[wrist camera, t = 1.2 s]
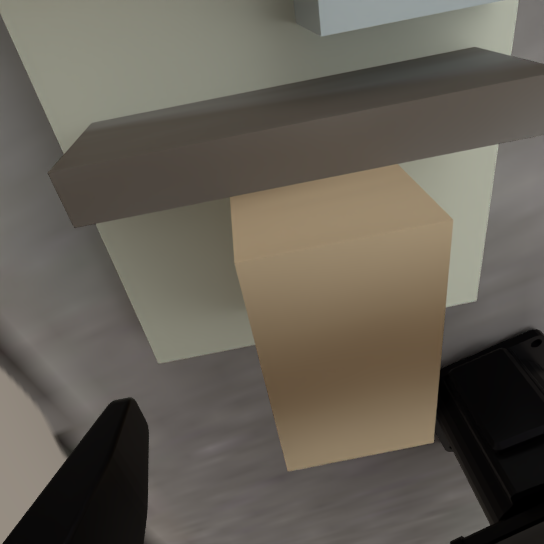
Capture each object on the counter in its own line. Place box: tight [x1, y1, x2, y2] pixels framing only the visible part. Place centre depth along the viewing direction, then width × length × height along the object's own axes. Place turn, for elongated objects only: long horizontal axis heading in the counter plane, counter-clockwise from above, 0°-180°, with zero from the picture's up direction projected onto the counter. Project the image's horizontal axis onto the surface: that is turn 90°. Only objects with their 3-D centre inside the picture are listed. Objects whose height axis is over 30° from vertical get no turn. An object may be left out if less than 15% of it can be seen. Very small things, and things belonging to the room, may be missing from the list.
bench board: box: [0, 0, 519, 364], centre depth 12 cm, size 18×12×2 cm, turn 9°
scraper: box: [48, 47, 544, 471], centre depth 11 cm, size 7×10×6 cm
